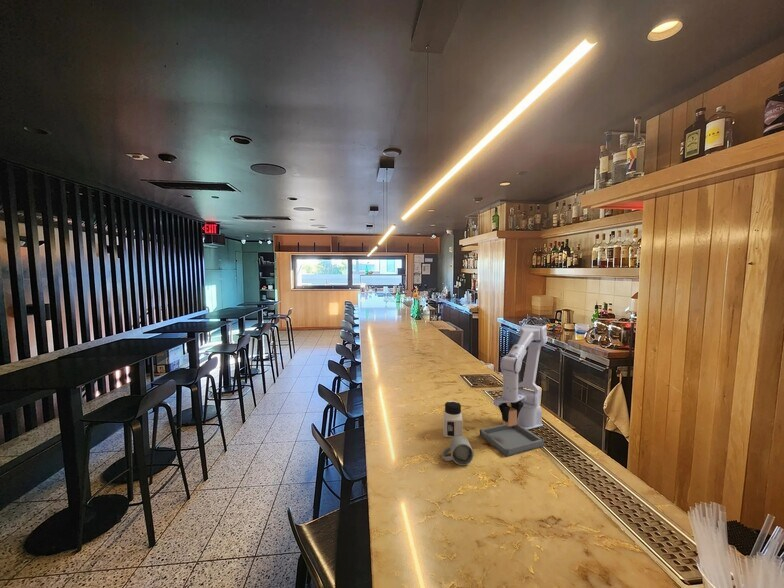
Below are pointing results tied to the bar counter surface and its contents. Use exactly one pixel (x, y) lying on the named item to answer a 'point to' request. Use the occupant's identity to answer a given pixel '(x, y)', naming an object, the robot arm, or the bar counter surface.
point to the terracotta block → (511, 417)
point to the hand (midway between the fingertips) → (510, 419)
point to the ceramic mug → (459, 451)
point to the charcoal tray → (511, 439)
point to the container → (452, 419)
